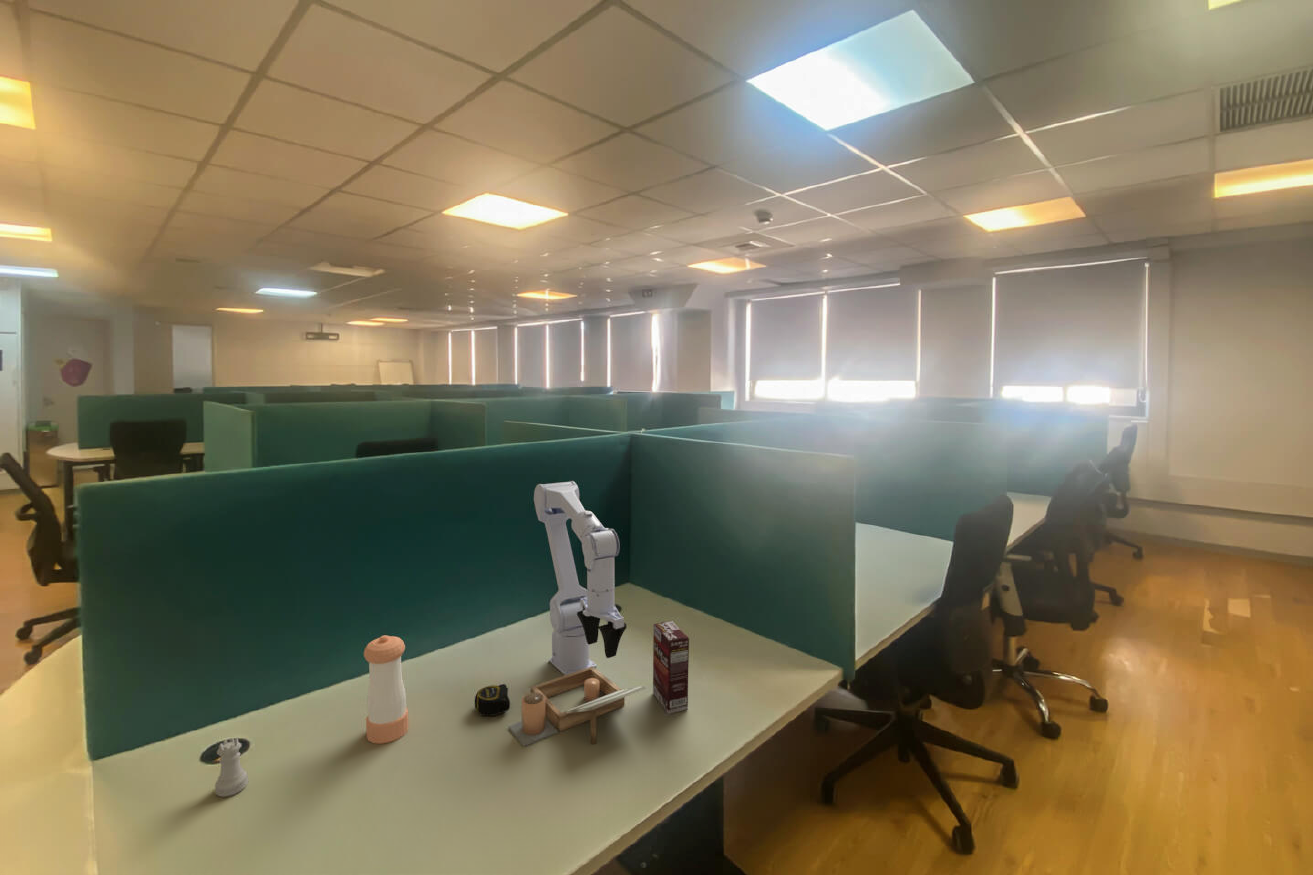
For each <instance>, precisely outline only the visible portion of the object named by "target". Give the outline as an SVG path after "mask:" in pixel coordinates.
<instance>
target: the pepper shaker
mask: <svg viewBox="0 0 1313 875" xmlns="http://www.w3.org/2000/svg"><path fill="white" fill-rule="evenodd" d="M405 649H406V645H405V643H404V640H402V639H401V638H400V637H398V636H394V635H391V636H390V635H387V634H386V635H385V634H384V635H382V636H380V637H378V638H376V639H373V640H372V641H370V642H369V643H368V644H367V645H366V646H365V648H364V651H363V657H364V659H365V660H366V661H367V662H368V666H369V667H368V669H369V671H368V672H369V684H368V692H367V699H366V701H367V702H366V703H367V704H366V705H367V717H366V719H365V726H366V739H367V740H368V741H369V742H371V743H373V744H381V745H382V744H388V743H390V742H394V741H396V740H399V739H401V738H402V737H403V736H405V735H406V733H407V732H408V730H409V727H410V726H409V724H410V723H409V710H408V708H407V704H406V703H407V702H406V701H407V698H406V696H407V695H406V689H405V685H404V681H403V680H404V679H403V675H402V672H403V671H402V656H403V654H404V653H405Z"/></svg>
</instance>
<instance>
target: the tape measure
mask: <svg viewBox="0 0 1313 875" xmlns="http://www.w3.org/2000/svg"><path fill="white" fill-rule="evenodd" d="M508 692H509V687H508V686H507V685H506V684H505V683H502V684H499V685H492V684H491V685H487V686H484V687H481V688H480V689H479V690H478V691H477V692H476V695H475V696H474V708H475V710H476V712H478V714H480V715H482V716H494V715H498V714H501V713H505V712H508V711H509V710H510V709H511V708H510V707H511V703H510V698H509V695H508Z"/></svg>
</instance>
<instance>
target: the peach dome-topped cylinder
mask: <svg viewBox="0 0 1313 875" xmlns="http://www.w3.org/2000/svg"><path fill="white" fill-rule="evenodd" d="M545 718H546V716H545V696H544V695H543V694H542V693H537V692H534V693H531V692H530V693H527V694H525V695H524V696H523V697H522V698H521V721H522V731H523V732H524V733H525V734H527V735H537V734H540V733H541V732H543V731H544V730H545Z"/></svg>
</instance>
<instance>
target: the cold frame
mask: <svg viewBox="0 0 1313 875" xmlns="http://www.w3.org/2000/svg"><path fill="white" fill-rule="evenodd" d="M590 678H595V679H598V680H599V691H601V692H602V693H603V694H604V696H601V697H600V696H599V698H598V699H595V700H593V701H590V702H588V701H586V702H585V703H582V704H580V705H578V706H575V707H572V708H570V709H568V710H567V709H566V710H565V711H561V709H559V708H558V707H557V706H556V705H555V704H554V703H553V702H552V701H551V700H550V699H549V698H550V697H552V696H556V695H559V694H561V693H564V692H566V691H570V690H572V689H576V688H577V687H581V686H583V685H584V682H585V680H587V679H590ZM643 690H646V686H645V685H643V686H637V687H631V688H626V689H622V688H621V687H620V686H618V685H617V684H615V683H614V682H613V681H612V680H611V679H610V678H608V677H607V676H605V675H604V674H603V673H602V672H600V671H599V670H598V669H597V668H596V667H595V668H594V667H593V666H591V667H588V668H585V669H582V670H579V671H576V672H574V673H571V674H568V675H562V676H560V677H556V678H553V679H551V680H548V681H544V682H543V683H538V684H536V685H534V686H531V687H530V693H534V692H537V693H542V694H543V695H544V696H545V718H546V719H547V720H548V721H549V722H550V723H551V724H552V725H553V726H554V727H555V728H556V729H557V730H558V731H559V732H564V731H566V730H568V729H571V728H572V727H575V726H578V725H580V724H582V723H585V722H588V721H590V744H592V745H595V744H596V743H597V717H600V716H602V715H605V714H607V713H609V712H612V711H613V710H616V709H618V708H621V707H623V706H625V700H626V699H625V698H626V697H628V696H630V695H633V694H635V693H638V692H640V691H643Z"/></svg>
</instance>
